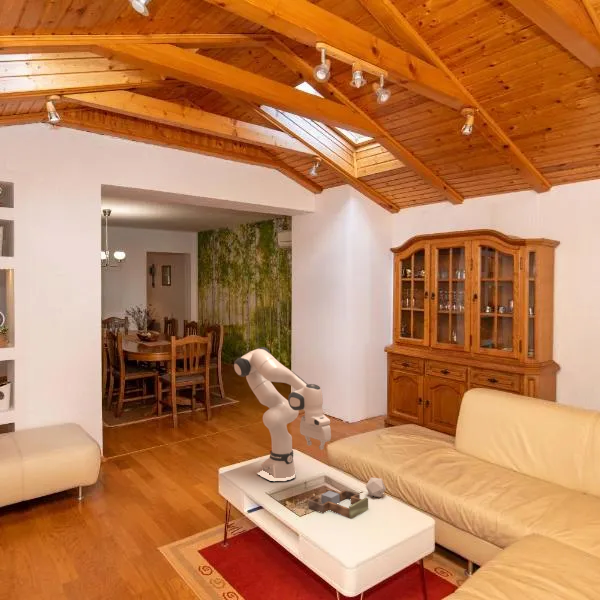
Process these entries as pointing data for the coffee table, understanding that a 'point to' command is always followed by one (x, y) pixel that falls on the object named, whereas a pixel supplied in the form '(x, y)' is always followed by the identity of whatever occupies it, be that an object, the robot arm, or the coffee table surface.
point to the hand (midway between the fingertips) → (315, 447)
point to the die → (375, 487)
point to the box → (351, 512)
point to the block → (330, 497)
